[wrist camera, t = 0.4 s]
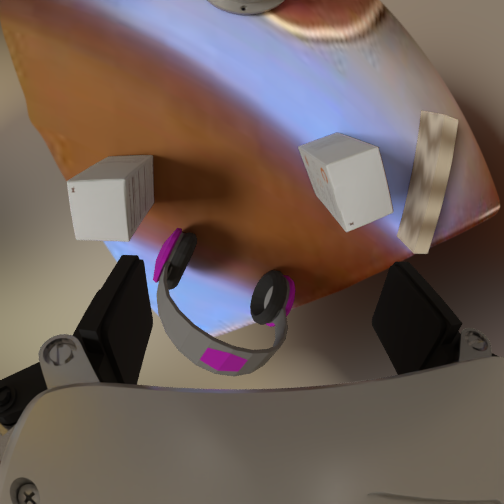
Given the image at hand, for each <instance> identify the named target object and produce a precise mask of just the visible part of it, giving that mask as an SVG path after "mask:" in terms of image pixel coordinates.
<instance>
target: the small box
mask: <svg viewBox="0 0 504 504" xmlns="http://www.w3.org/2000/svg"><path fill="white" fill-rule="evenodd" d="M298 149H299V151H300V154H301V157H302V159H303V162H304V165H305V167H306V170H307V173H308V175H309V178H310V181H311V183H312V186H313V189H314V191H315V194H316V196H317V197H318V198H319V199H320V200H321V202H322V203H323V204H324V205H325V206H326V207H327V209H328V210H329V211H330V213H331V214H332V215H333V216H334V218H335V219H336V220H337V221H338V223H339V224H340V225H341V226H342V228H343V229H344V230H345V231H346V232H349V231H351V230H353V229H356V228H358V227H361V226H363V225H365V224H368V223H370V222H373V221H375V220H377V219H379V218H382V217H384V216H386V215H389V214H391V213H393V207H392V202H391V197H390V192H389V188H388V183H387V179H386V174H385V170H384V166H383V162H382V159H381V155H380V151H379V147H377V146H374V145H371V144H369V143H366V142H363V141H361V140H358V139H355V138H352V137H349V136H346V135H343V134H340V133H334V134H331V135H328V136H325V137H323V138H320V139H317V140H314V141H312V142H309V143H306V144H303V145H301V146H299V147H298Z"/></svg>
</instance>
